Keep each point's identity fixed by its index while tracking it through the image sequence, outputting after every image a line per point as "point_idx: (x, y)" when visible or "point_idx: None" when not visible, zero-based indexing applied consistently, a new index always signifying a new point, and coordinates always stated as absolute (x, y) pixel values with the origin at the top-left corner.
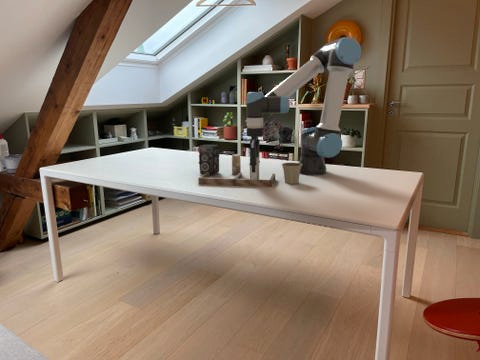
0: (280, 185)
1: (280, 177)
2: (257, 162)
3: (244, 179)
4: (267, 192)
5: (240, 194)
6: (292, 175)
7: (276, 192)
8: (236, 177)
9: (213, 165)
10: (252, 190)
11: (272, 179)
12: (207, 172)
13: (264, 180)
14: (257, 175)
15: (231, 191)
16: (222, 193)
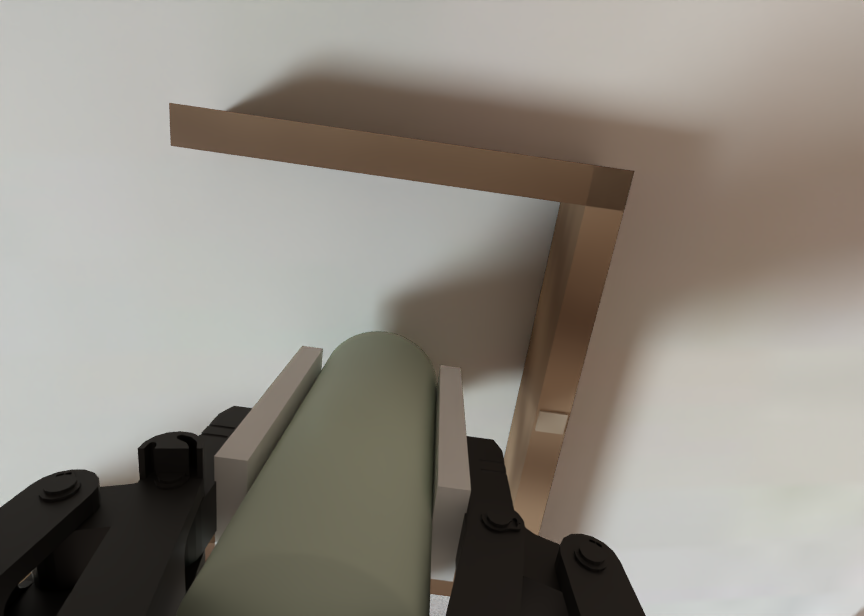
0: (517, 50)
1: (63, 27)
2: (406, 511)
3: (538, 504)
4: (822, 229)
5: (830, 479)
6: None
7: (848, 120)
8: (439, 580)
9: None
10: (708, 381)
11: (565, 162)
12: None
13: (603, 277)
14: (419, 376)
15: (710, 550)
16: (761, 606)
